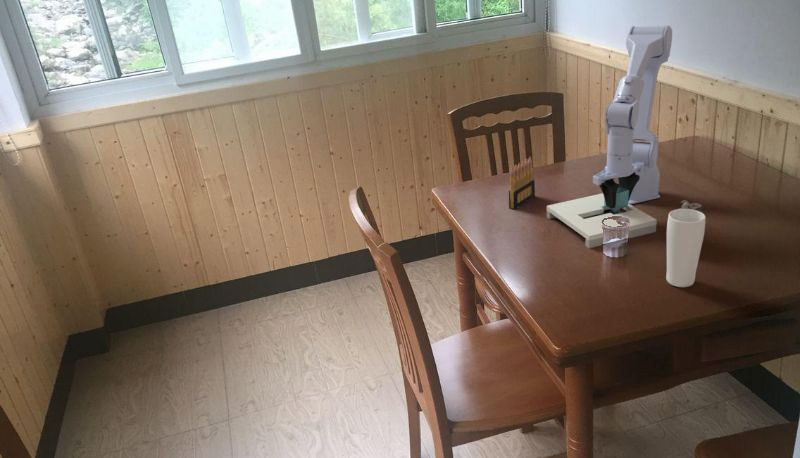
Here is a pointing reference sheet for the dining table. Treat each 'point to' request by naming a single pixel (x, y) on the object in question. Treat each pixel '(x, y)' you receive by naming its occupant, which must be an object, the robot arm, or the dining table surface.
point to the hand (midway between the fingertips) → (617, 204)
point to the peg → (619, 200)
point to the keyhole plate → (598, 218)
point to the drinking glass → (683, 245)
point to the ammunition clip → (521, 184)
